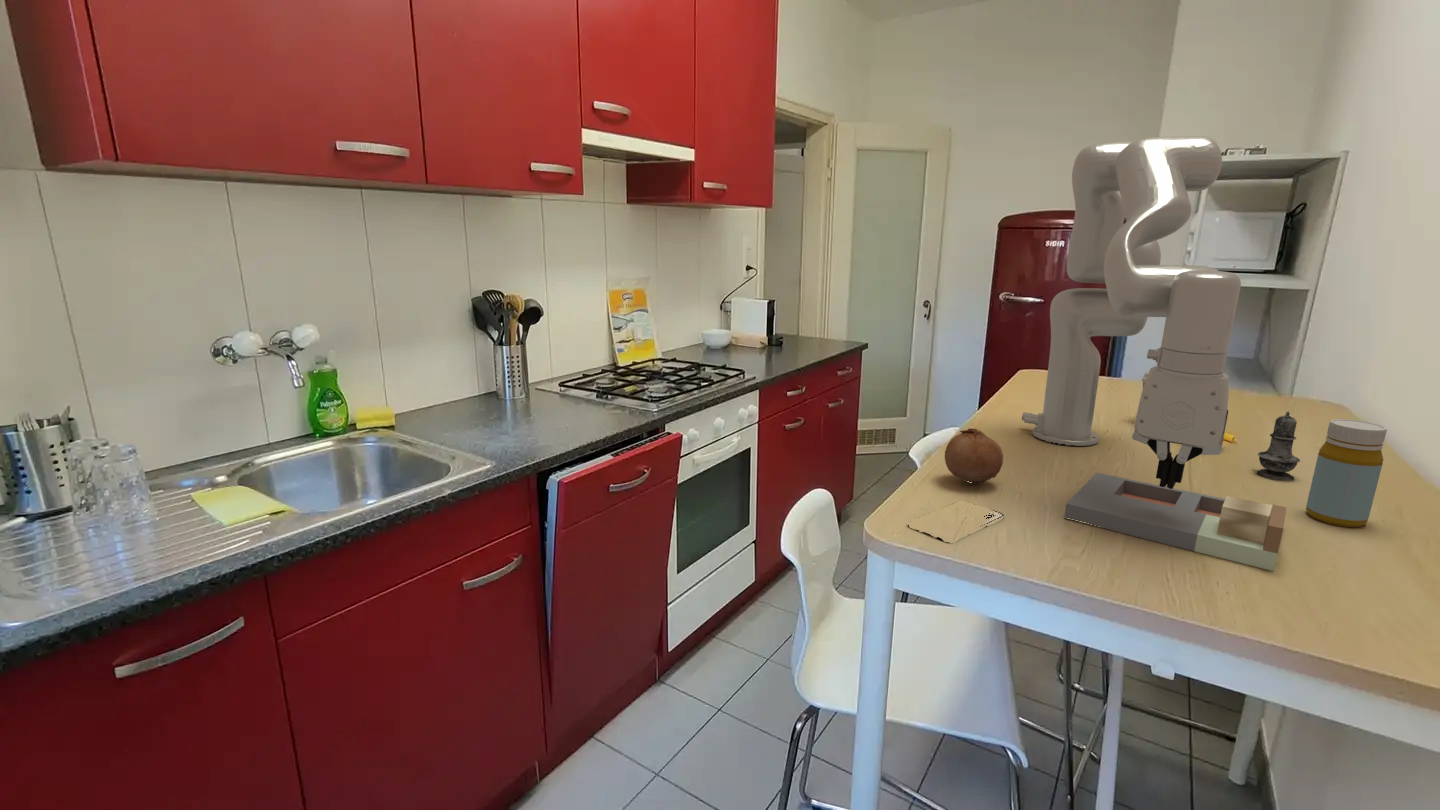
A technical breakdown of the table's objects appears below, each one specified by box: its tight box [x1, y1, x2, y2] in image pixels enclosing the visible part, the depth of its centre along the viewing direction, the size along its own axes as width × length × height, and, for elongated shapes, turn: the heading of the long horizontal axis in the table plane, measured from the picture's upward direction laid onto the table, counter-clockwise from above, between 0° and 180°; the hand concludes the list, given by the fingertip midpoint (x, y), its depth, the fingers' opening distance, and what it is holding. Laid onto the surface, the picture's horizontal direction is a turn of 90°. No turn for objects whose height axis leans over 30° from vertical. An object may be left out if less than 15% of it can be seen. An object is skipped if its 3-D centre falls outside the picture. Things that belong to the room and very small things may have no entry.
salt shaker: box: [1255, 410, 1301, 482], centre depth 118 cm, size 6×6×12 cm
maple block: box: [1217, 495, 1273, 544], centre depth 90 cm, size 5×5×4 cm
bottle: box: [1305, 418, 1388, 528], centre depth 99 cm, size 7×7×15 cm
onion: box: [944, 427, 1004, 484], centre depth 115 cm, size 10×9×10 cm
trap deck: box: [1064, 472, 1287, 572], centre depth 99 cm, size 25×18×6 cm
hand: (1167, 484), depth 97 cm, fingers closed
